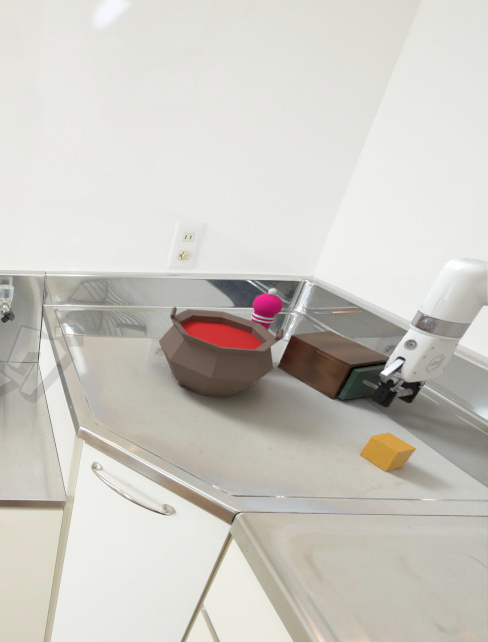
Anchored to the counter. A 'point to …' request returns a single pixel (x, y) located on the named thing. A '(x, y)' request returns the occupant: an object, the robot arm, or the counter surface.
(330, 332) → the cabinet
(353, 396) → the drawer
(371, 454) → the block
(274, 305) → the pepper mill
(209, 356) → the brown cooking pot
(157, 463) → the counter surface
